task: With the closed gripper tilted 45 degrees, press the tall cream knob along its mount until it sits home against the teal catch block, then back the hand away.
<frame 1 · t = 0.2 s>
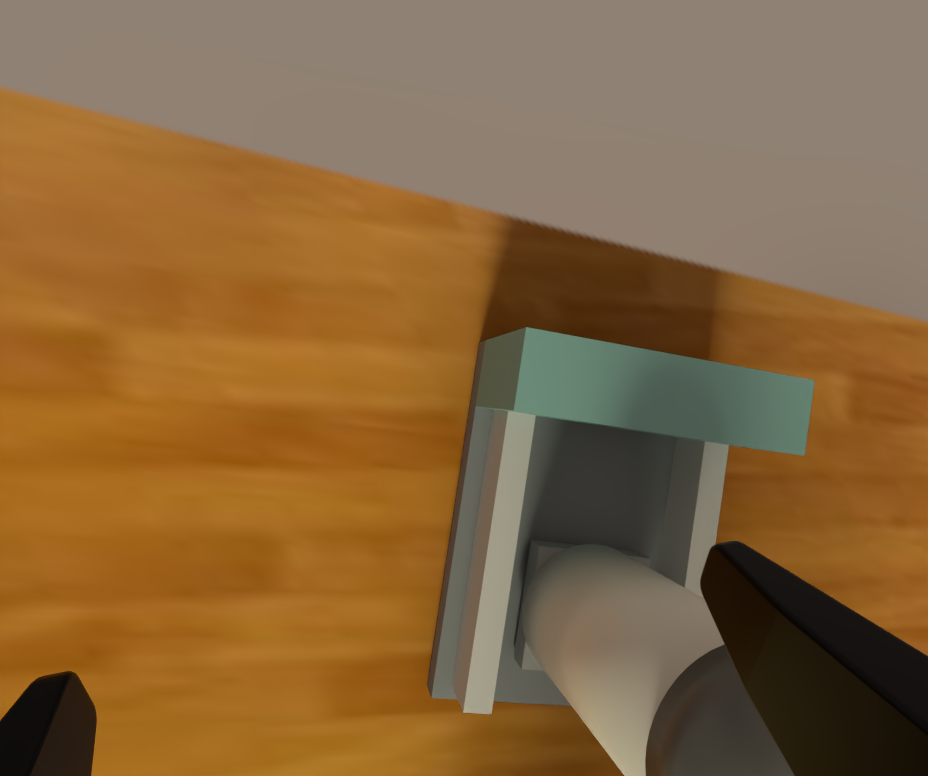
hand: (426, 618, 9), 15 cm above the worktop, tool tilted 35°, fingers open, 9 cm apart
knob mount: (574, 526, 25), on the worktop
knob: (652, 668, 18), point 7 cm above the worktop, slide at 0.0 cm
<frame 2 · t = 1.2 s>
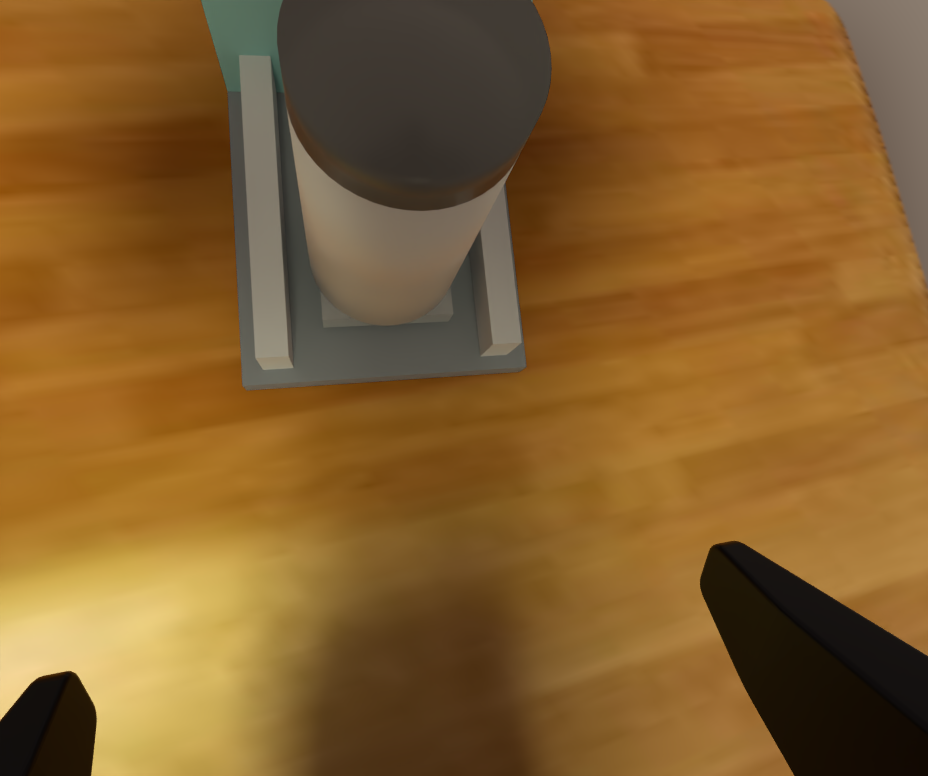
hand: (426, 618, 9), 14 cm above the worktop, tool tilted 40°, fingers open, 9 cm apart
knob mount: (374, 210, 24), on the worktop
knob: (394, 191, 17), point 7 cm above the worktop, slide at 0.0 cm
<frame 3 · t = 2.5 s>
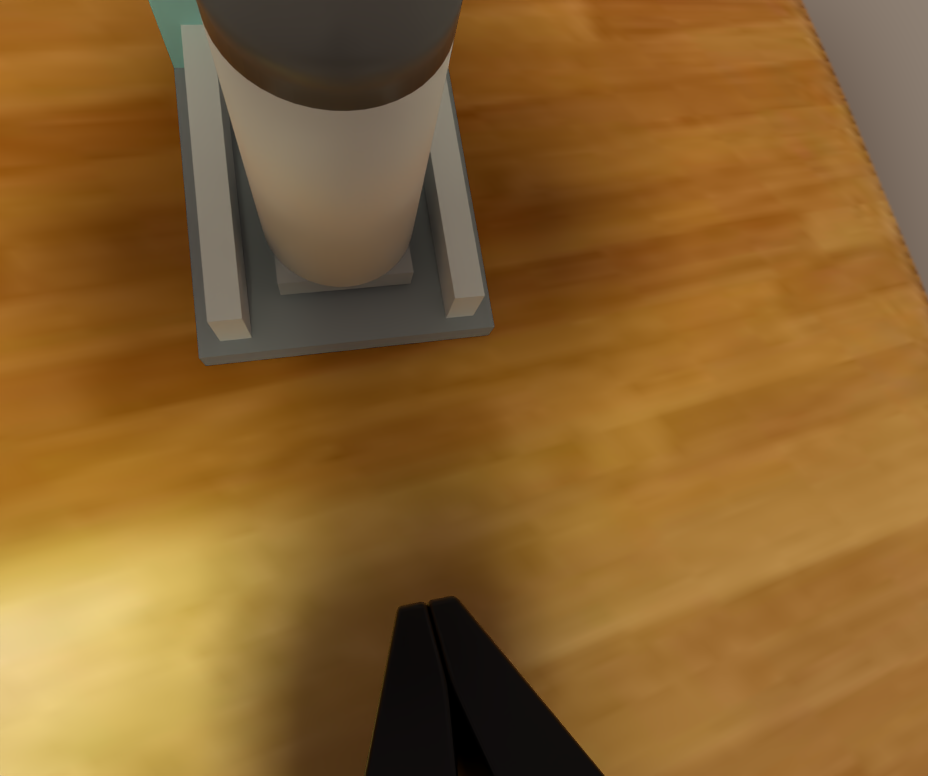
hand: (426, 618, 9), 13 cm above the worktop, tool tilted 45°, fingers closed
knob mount: (330, 180, 24), on the worktop
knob: (335, 130, 16), point 7 cm above the worktop, slide at 0.0 cm
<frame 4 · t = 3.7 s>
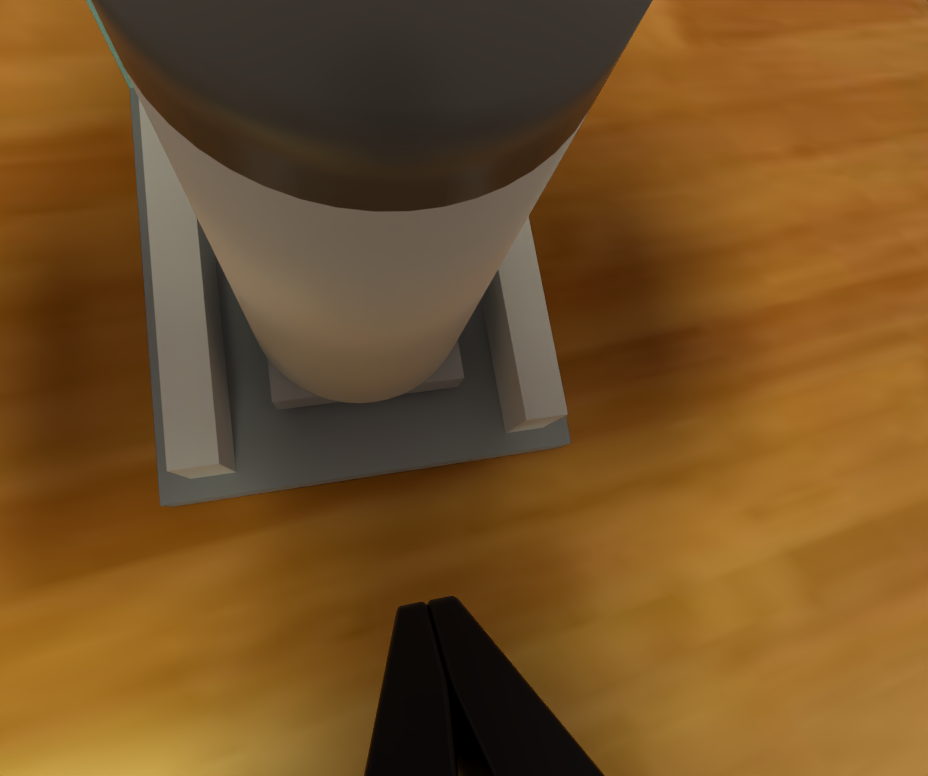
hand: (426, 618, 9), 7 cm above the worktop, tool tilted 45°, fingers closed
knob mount: (344, 238, 18), on the worktop
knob: (362, 198, 10), point 7 cm above the worktop, slide at 0.0 cm
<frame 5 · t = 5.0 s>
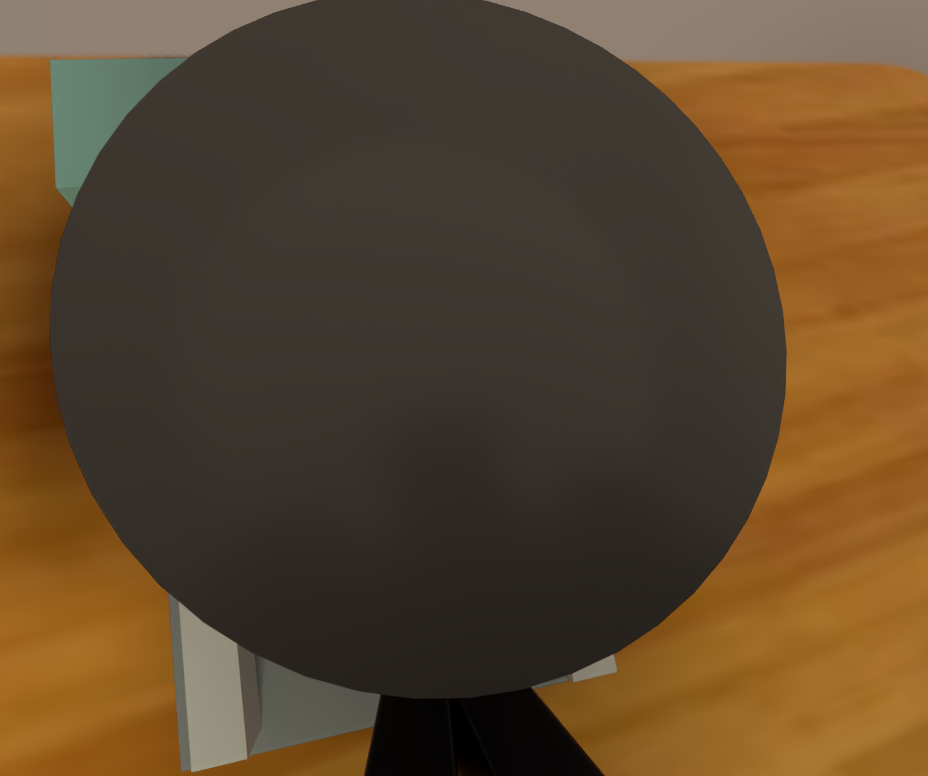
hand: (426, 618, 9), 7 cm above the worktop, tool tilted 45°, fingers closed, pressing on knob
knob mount: (372, 438, 17), on the worktop
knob: (395, 431, 10), point 7 cm above the worktop, slide at 1.7 cm, touching gripper
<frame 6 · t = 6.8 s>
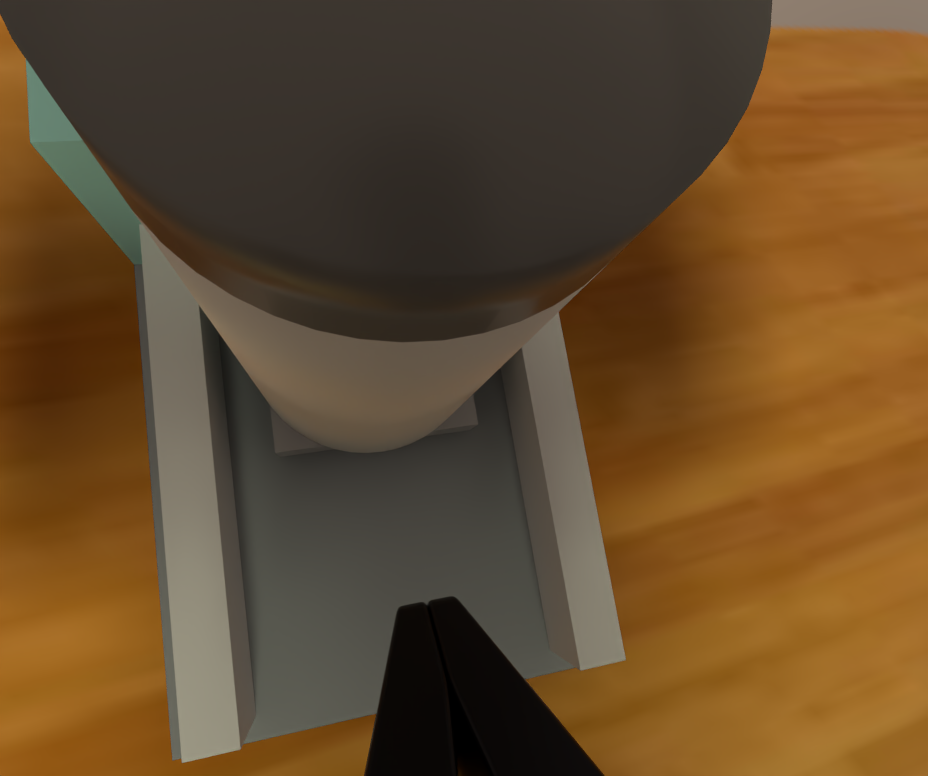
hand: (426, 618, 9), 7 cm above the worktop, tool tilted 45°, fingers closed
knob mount: (371, 416, 16), on the worktop
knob: (375, 257, 9), point 7 cm above the worktop, slide at 4.0 cm
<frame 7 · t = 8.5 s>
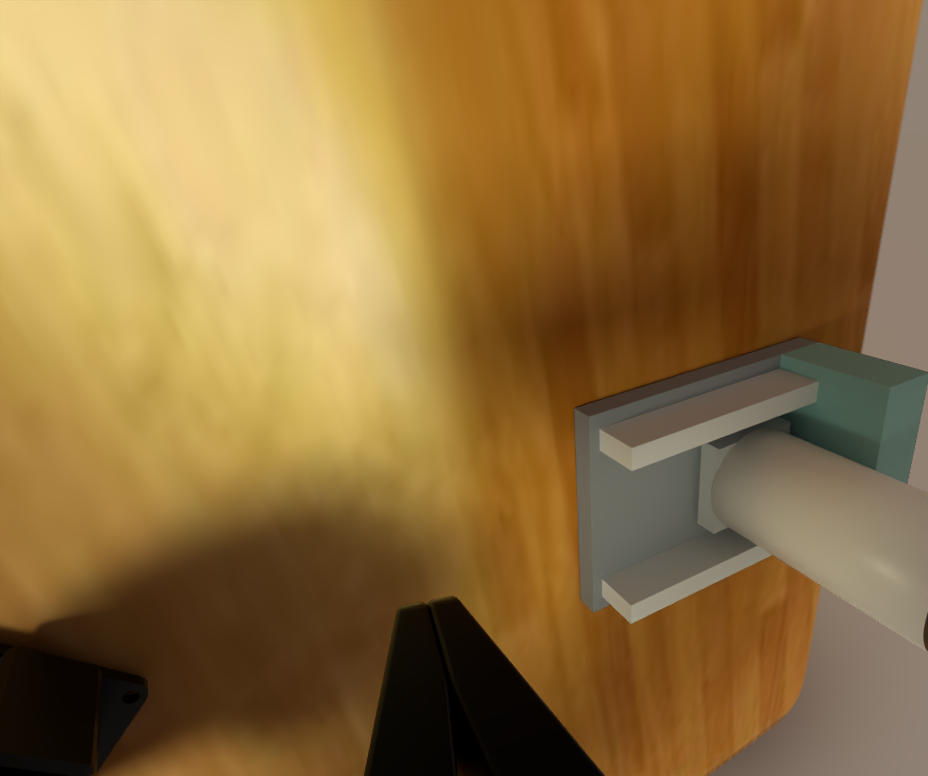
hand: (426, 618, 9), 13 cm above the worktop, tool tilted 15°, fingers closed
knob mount: (692, 466, 30), on the worktop
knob: (850, 529, 25), point 7 cm above the worktop, slide at 4.0 cm
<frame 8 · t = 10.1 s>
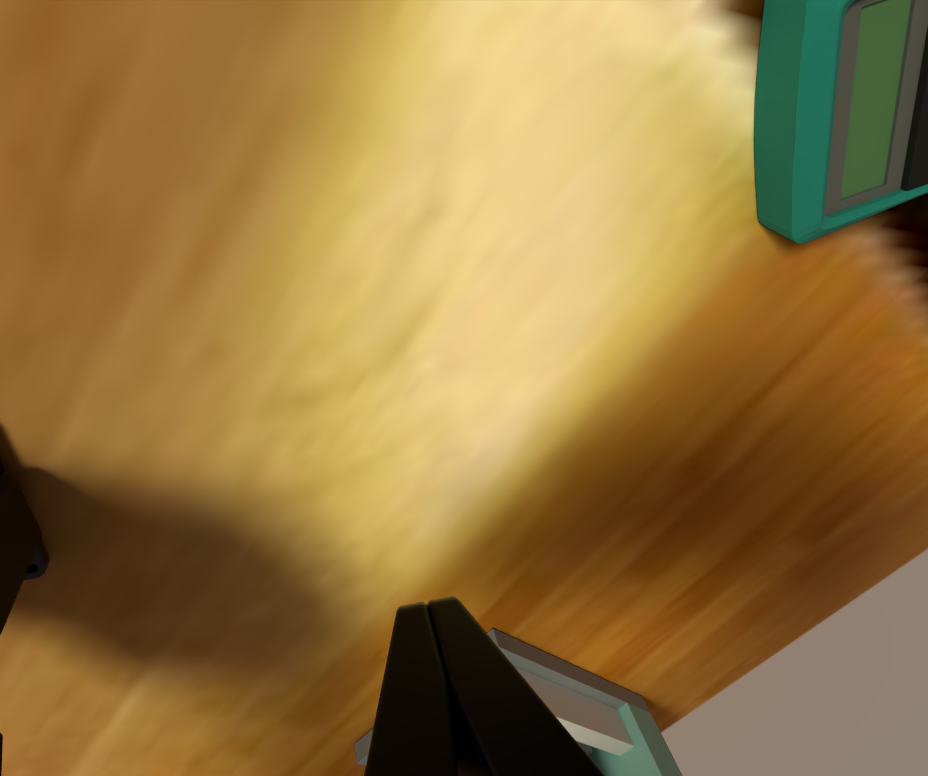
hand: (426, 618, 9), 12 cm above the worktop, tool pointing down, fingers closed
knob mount: (508, 718, 34), on the worktop
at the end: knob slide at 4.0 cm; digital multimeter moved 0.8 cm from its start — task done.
